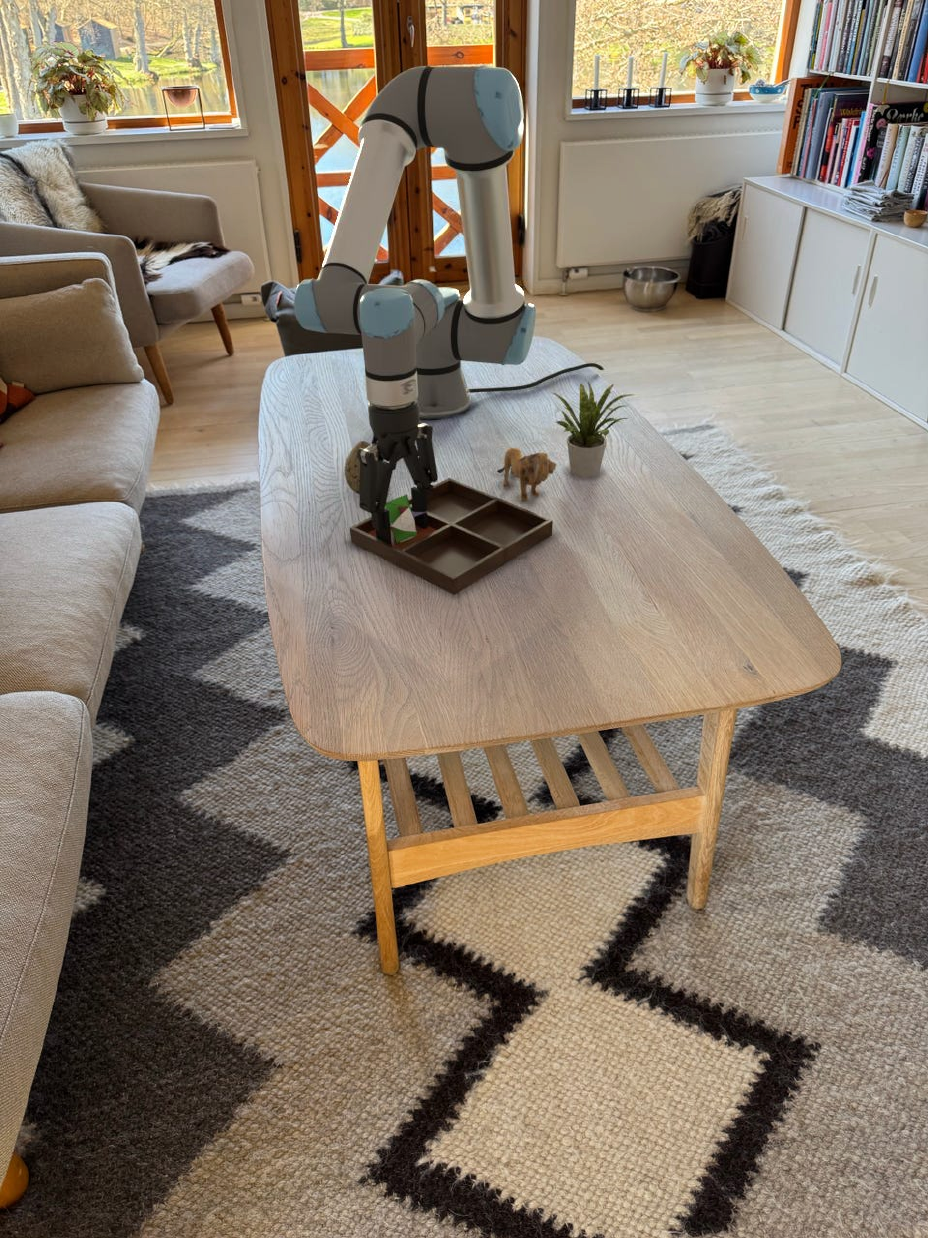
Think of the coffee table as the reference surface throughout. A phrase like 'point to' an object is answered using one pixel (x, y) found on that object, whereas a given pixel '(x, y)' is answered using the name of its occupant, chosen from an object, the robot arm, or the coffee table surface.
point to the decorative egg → (354, 467)
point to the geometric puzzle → (402, 518)
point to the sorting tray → (459, 537)
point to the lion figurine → (527, 469)
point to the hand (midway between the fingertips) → (402, 534)
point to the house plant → (588, 432)
